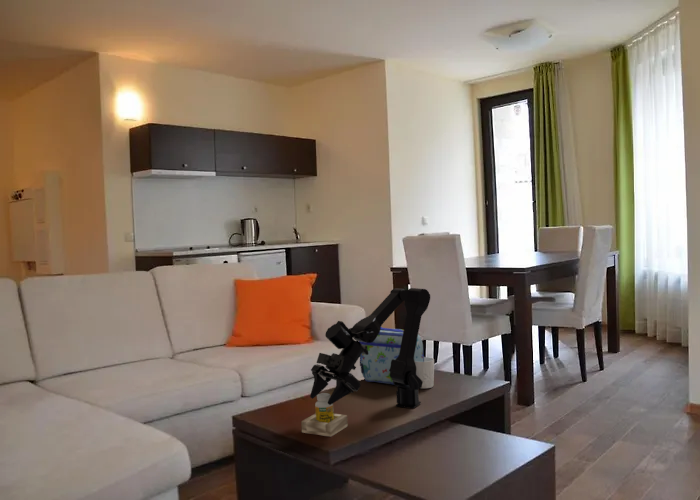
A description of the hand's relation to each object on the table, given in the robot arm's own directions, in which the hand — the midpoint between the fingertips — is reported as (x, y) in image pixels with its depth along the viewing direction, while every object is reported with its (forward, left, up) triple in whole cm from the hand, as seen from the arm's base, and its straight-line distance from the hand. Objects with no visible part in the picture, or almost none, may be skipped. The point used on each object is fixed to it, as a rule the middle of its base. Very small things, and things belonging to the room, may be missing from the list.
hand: (319, 400), depth 181 cm
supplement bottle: (-1, -1, -8) cm, 8 cm away
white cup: (-11, -56, -9) cm, 58 cm away
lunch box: (+3, -57, -9) cm, 58 cm away
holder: (-1, -1, -9) cm, 9 cm away
